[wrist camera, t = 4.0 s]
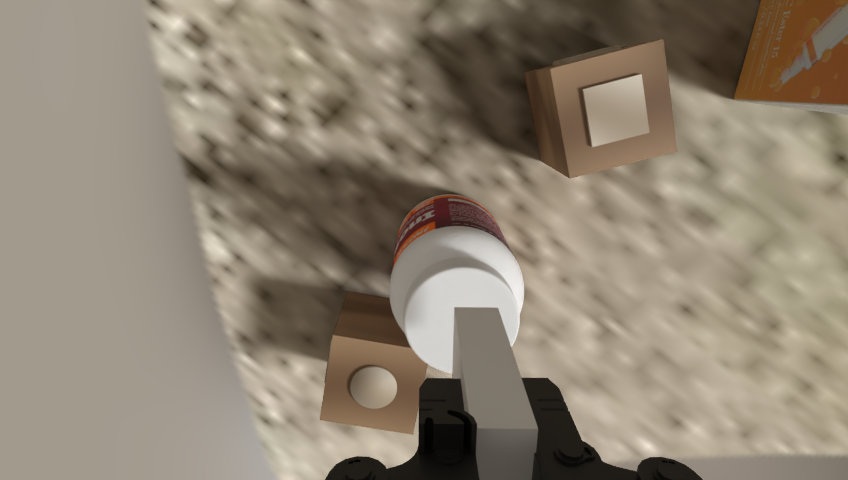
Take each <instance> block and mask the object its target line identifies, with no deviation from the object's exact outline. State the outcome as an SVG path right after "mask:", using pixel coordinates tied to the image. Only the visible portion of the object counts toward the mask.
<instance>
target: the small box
mask: <svg viewBox="0 0 848 480" xmlns="http://www.w3.org/2000/svg"><path fill="white" fill-rule="evenodd" d="M734 100H736V101H741V102H749V103H757V104H765V105H773V106H780V107H788V108H796V109H803V110H811V111H819V112H827V113H835V114H844V115H848V0H761V2H760V6H759V10H758V13H757V17H756V21H755V25H754V29H753V32H752V36H751V39H750V43H749V46H748V50H747V53H746V57H745V61H744V64H743V68H742V71H741V75H740V78H739V82H738V85H737V89H736V92H735V95H734Z"/></svg>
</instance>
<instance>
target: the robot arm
mask: <svg viewBox="0 0 848 480" xmlns="http://www.w3.org/2000/svg"><path fill="white" fill-rule="evenodd" d="M325 480H702V478H701V477H700V476H698V475H697V474H696V473H695V472H694V471H693V470H691V469H690V468H689V467H687V466H686V465H684V464H682V463H680V462H677V461H675V460H672V459H668V458H663V457H650V458H648V459H645V460H642V462H641V463H640V464H639V465H638V469H637V472H636V471H632V470H628V469H623V468H619V467H616V466H612V465H609V464H607V463H605V462H603V461H602V460H601V458H600V456H599V454H598V453H597V452H596V450H595V449H594V448H593V447H591V446H590V445H589V444H587V443H586V442H583V441H582V440H581V437H580V435H579V433H578V430H577V428H576V426H575V424H574V421H573V419H572V417H571V415H570V412H569V411H568V408H567V406H566V403H565V402H564V399H563V396H562V394H561V392H560V390H559V388H558V387H557V386H556V385H555V384H554V383H552V382H551V381H550V380H549V379H548V378H521V375H520V372H519V369H518V366H517V363H516V360H515V357H514V354H513V351H512V348H511V345H510V342H509V339H508V336H507V333H506V330H505V327H504V324H503V321H502V318H501V315H500V312H499V309H498V308H489V307H454V332H453V365H452V379H450V378H426V380H425V381H424V382H423V384H422V385H421V386H420V388H419V445H418V450H417V452H416V453H415V455H414V456H413V457H412V458H411V459H410V460H409V461H407V462H405V463H404V464H402V465H399V466H396V467H392V468H388V469H386V467H385V466H384V465H383V464H382V463H381V462H380V461H378V460H376V459H373V458H370V457H358V456H357V457H352V458H348V459H345V460H343V461H341V462H340V463H338V464H336V465H335V466H334V468H333V469H332V470H331V471H330V472H329V474H328V476H327V477H326V479H325Z"/></svg>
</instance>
